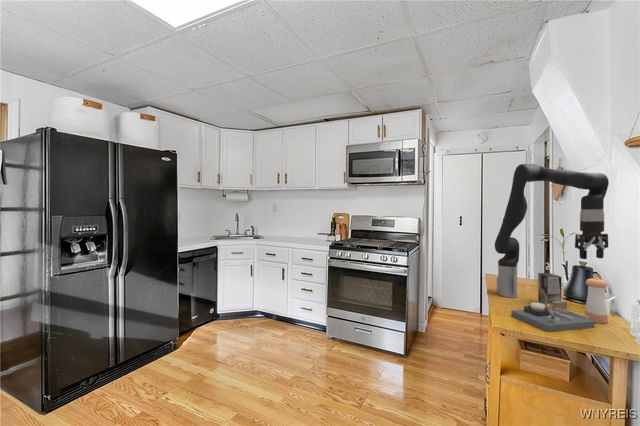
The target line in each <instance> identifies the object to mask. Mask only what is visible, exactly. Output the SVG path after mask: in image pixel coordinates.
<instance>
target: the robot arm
mask: <svg viewBox="0 0 640 426" xmlns="http://www.w3.org/2000/svg"><path fill="white" fill-rule="evenodd" d="M512 176H513V177H512V183H511V184H512V185H511V190H510V194H509V197H508V201H507V204H506V207H505V208H506V209H505V212H504V215H503V216H504V217H503V218H502V219H503V220H502V222H501V227H500V229H499V231H498V233H497V236H496V239H495V241H494V249H495V252H496V253H498V254H501V255H502V254H503V255H504V256H503V257H501V258H499V259H498V261H497V277H496V294H497V295H499V296H500V297H504V298H518V263H519V261H520V242H519V241H518V239H517V238H515V237H511V236H512V234H513V232H514V231H515V229H516V228H518V226H520V224H521V223H522V222H523V220H524V219H525V218H526V213H527V211H528V202H527V200H526V196H525V188H526V185H527V183H532V182H533V183H534V182H549V183H552V184H555V185H559V186H566V187H572V188H577V189H580V190H588V193H587V195H584V196H581V199H580V213H579V214H580V215H579V231H581V232H582V233H581V234H579V233H576V234H575V237H574V238H575V239H574V248H575V249H578V250H579V258H580V259H581V260H587V259H588V248H589V247H591V245H593V246H594V247H595V248H596V250H595V251H596V253H595V255H596V256H595V257H596V258H597V259H604V256H605V255H604V254H605V253H604V251H605V250H606V249H608V248H609V234H608V233H603V232H604V231H605V212H604V208H605V207H604V206H605V205H604V201H605V200H604V199H605V197H606V194H607V191H608V187H609V184H610V183H609V181H610V180H609V178H608V176H607V175H606V174H604V173H603V172H602V173H601V172H580V171H577V170H570V169H558V168H557V169H556V168H554V169H553V168H548V167H544V166H542V165H538V164H534V163H521V164H519V165H518V166H516V168H515V170H514V173H513V175H512Z"/></svg>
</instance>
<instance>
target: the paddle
mask: <svg viewBox="0 0 640 426" xmlns="http://www.w3.org/2000/svg"><path fill="white" fill-rule="evenodd" d="M567 310H568V301H567V300H566V301H565V300H561V301H554V302H552V311H555V312H558V313H567Z"/></svg>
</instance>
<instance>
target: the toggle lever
mask: <svg viewBox="0 0 640 426" xmlns="http://www.w3.org/2000/svg"><path fill="white" fill-rule="evenodd" d="M545 308H547V309H548V310H549V313H550V315H551V318H552V319H554V318H555V316H554V314H553V311H552V309H551V308H552V306H551V305H550V304H547V305H546V307H545Z"/></svg>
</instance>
